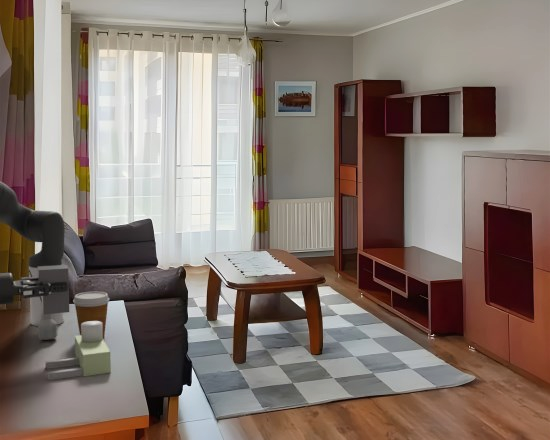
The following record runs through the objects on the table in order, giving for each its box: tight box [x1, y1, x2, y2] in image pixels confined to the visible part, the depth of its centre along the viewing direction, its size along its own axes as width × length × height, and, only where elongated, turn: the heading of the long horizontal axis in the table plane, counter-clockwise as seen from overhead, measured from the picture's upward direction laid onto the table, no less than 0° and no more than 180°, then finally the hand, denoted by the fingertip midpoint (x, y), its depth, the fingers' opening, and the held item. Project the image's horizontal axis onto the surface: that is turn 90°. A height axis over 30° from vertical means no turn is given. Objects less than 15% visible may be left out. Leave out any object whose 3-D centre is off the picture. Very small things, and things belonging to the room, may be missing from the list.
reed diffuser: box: [28, 269, 59, 341], centre depth 169 cm, size 10×7×20 cm
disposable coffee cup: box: [72, 291, 110, 339], centre depth 170 cm, size 10×10×12 cm
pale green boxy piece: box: [45, 321, 112, 381], centre depth 149 cm, size 16×14×9 cm
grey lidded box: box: [37, 264, 70, 314], centre depth 155 cm, size 5×7×11 cm
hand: (65, 284), depth 156 cm, fingers closed on grey lidded box, 5 cm apart
